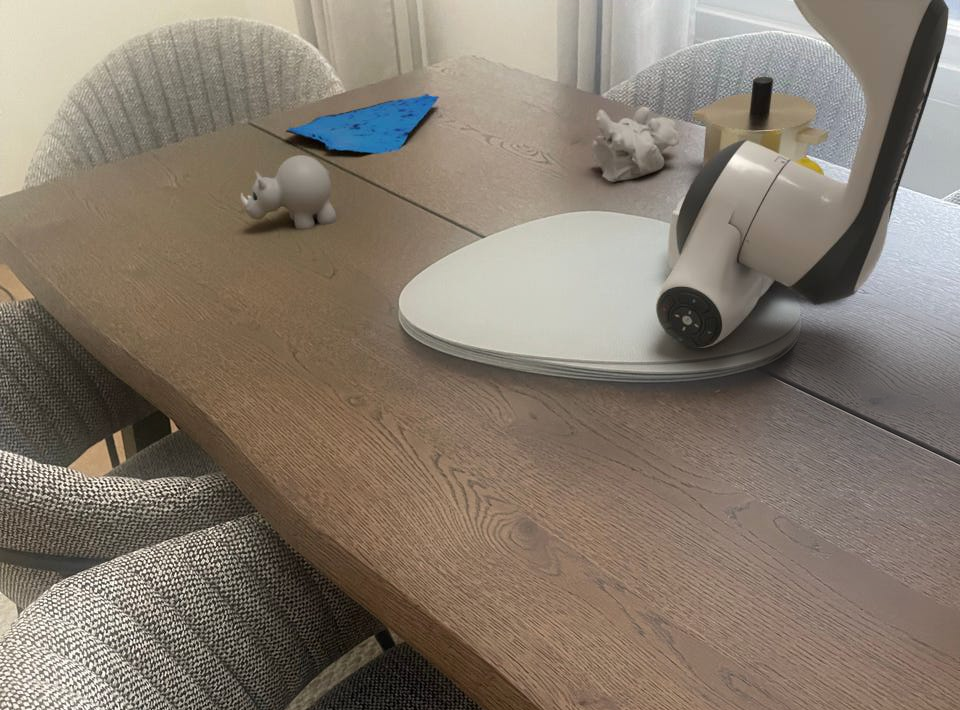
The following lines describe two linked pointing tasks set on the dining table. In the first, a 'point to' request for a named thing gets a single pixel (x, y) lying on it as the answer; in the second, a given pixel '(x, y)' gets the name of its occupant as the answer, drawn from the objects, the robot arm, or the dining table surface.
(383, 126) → the shard
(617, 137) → the figurine
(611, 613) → the dining table surface
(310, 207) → the chubby cartoon animal
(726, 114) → the pot lid
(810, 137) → the pot
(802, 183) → the robot arm
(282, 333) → the dining table surface
